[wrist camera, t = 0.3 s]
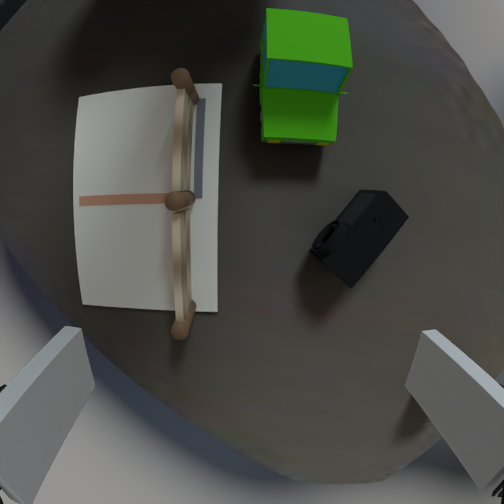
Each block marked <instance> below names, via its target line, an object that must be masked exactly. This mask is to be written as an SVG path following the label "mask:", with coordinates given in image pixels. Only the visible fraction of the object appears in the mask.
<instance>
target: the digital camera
mask: <svg viewBox="0 0 504 504" xmlns="http://www.w3.org/2000/svg"><path fill="white" fill-rule="evenodd" d="M407 219H408V215H407V214H406V213H405V212H404V211H403V210H402V209H401V207H400V206H399V205H398V204H397V203H396V202H395V201H394V199H393V198H392V197H391V196H390V195H389V194H388V193H387V192H386V191H377V190H360V191H359V192H358V193H357V194H356V195H355V197H354V198H353V199H352V200H351V202H350V203H349V204H348V205H347V206H346V208H345V209H344V210H343V211H342V213H341V214H340V215H339V216H338V217H337V219H336V220H335V221H333V222H331V223H329V224H328V225H327V226H326V227H325V228H324V229H323V230H322V231H321V232H320V233H319V234H318V236H317V237H316V239H315V240H314V242H313V245H312V248H311V249H310V252H311V253H312V254H313V255H314V256H315V257H316V258H317V259H318V260H319V261H321V262H322V263H323V264H324V265H325V266H326V267H327V268H328V269H329V270H331V271H332V272H333V273H334V274H335V275H336V276H337V277H339V278H340V279H341V280H342V281H343V282H344V283H345V284H346V285H347V286H349V287H350V288H352V287H353V286H354V285H355V284H356V282H357V281H358V280H359V279H360V278H361V277H362V276H363V274H364V273H365V272H366V271H367V270H368V268H369V267H370V266H371V265H372V264H373V262H374V261H375V260H376V259H377V257H378V256H379V255H380V254H381V253H382V251H383V250H384V249H385V248H386V246H387V245H388V244H389V242H390V241H391V240H392V239H393V237H394V236H395V235H396V233H397V232H398V231H399V229H400V228H401V227H402V225H403V224H404V223H405V221H406V220H407Z"/></svg>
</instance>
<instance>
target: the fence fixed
mask: <svg viewBox="0 0 504 504" xmlns="http://www.w3.org/2000/svg"><path fill="white" fill-rule="evenodd" d="M170 78H171V81H172V83H173V84H174V86H175V88H176V89H177V92H176V105H175V121H174V140H173V167H172V190H187V191H174V192H170V193H168V194H167V195H166V197H165V200H164V203H165V206H166V208H167V209H168V210H170V211H178V210H180V209H183V208H185V207H188V206H190V205H192V204H193V203H194V202H195V195H194V193H193V192H192V191H189V190H191V153H192V129H193V110H194V105H196V104H197V102H198V101H199V96H198V93H197V91H196V88H195V86H194V84H193V81H192V79H191V76H190V74H189V72H188V70H186V69H185V68H178V69H176V70H174V71H173V72H172V74H171V77H170Z"/></svg>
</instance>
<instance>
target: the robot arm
mask: <svg viewBox="0 0 504 504" xmlns="http://www.w3.org/2000/svg"><path fill="white" fill-rule="evenodd" d="M405 387H406V388H407V389H408V391H409V392H410V393H411V395H412V396H413V397H414V399H415V400H416V401H417V403H418V404H419V405H420V407H421V408H422V409H423V411H424V412H425V413H426V415H427V416H428V417H429V419H430V420H431V421H432V423H433V424H434V426H435V427H436V428H437V430H438V431H439V432H440V434H441V435H442V437H443V438H444V439H445V441H446V442H447V444H448V445H449V446H450V448H451V449H452V450H453V452H454V453H455V455H456V456H457V457H458V459H459V460H460V462H461V463H462V465H463V466H464V468H465V469H466V470H467V472H468V473H469V475H470V476H471V478H472V479H473V481H474V482H475V484H476V485H477V487H478V488H479V490H480V491H482V490H484V489H486V488H487V487H489V486H491V485H492V484H494V483H495V482H496V481H497V480H498V479H499V478H500V476H501V475H502V474H503V473H504V386H503V385H501V384H499V383H497V382H496V381H495V380H494V379H493V378H491V377H490V376H489V375H488V374H487V373H486V372H485V371H484V370H483V369H481V368H480V367H479V366H478V365H477V364H476V363H475V362H473V361H472V360H471V359H470V358H469V357H468V356H467V355H465V354H464V353H463V352H462V351H461V350H460V349H458V348H457V347H456V346H455V345H454V344H452V343H451V342H450V341H449V340H448V339H447V338H445V337H444V336H443V335H442V334H441V333H439V332H438V331H437V330H436V329H435V330H427V331H422V333H421V336H420V340H419V343H418V347H417V350H416V353H415V356H414V360H413V363H412V366H411V369H410V372H409V375H408V377H407V380H406V383H405ZM94 388H95V382H94V379H93V376H92V371H91V367H90V364H89V360H88V356H87V351H86V347H85V343H84V338H83V333H82V328H76V327H69V326H65V327H64V328H63V329H62V330H61V331H59V332H58V333H57V334H56V335H55V336H54V337H53V338H52V339H51V340H50V341H49V342H48V343H47V344H46V345H45V346H44V347H43V348H42V349H41V350H40V351H39V352H38V353H37V354H36V356H34V357H33V359H32V360H31V361H30V362H29V363H28V364H27V365H26V366H25V367H24V368H23V369H22V370H21V371H20V372H19V373H18V374H17V375H16V377H14V379H12V381H11V382H10V383H9V384H8V385H3V386H1V387H0V490H1V489H2V490H3V491H4V492H5V494H6V495H7V496H8V497H9V498H10V499H12V500H13V501H15V502H17V503H19V504H32V503H33V501H34V499H35V497H36V495H37V493H38V490H39V488H40V486H41V484H42V482H43V480H44V478H45V476H46V474H47V472H48V471H49V469H50V467H51V465H52V463H53V461H54V459H55V457H56V455H57V453H58V451H59V450H60V447H61V445H62V444H63V442H64V440H65V438H66V437H67V435H68V433H69V431H70V429H71V428H72V426H73V424H74V422H75V420H76V419H77V417H78V415H79V413H80V412H81V410H82V408H83V407H84V405H85V403H86V402H87V400H88V398H89V396H90V395H91V393H92V391H93V390H94ZM501 488H503V490H502V491H501V492H500V493H499V494H498V497H502V501H501V504H504V480H503V481H502V482H501V483H500V484H499V486H498V487H497V488H496V489H495V490H494V491H493V493H492V496H495V495H496V494H497V493H498V492H499V490H500V489H501ZM0 504H3V501H2V499H1V497H0Z"/></svg>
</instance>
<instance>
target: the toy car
mask: <svg viewBox="0 0 504 504" xmlns="http://www.w3.org/2000/svg"><path fill="white" fill-rule="evenodd" d="M260 51H261V56H260V85H256V84H252V85H253V86H260V105H261V112H260V127H261V141H264V143H285V144H305V145H319V146H328V145H330V144H332V143H333V142H335V141H336V132H337V116H338V97H339V94H340V93H343V94H348V93H347V92H341V90H342V88H343V86H344V84H345V82H346V80H347V78H348V76H349V74H350V72H351V70H352V68H353V65H352V54H351V45H350V36H349V28H348V21H347V18H342V17H336V16H331V15H325V14H318V13H311V12H304V11H295V10H285V9H271V8H266V13H265V18H264V24H263V29H262V35H261V40H260Z"/></svg>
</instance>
